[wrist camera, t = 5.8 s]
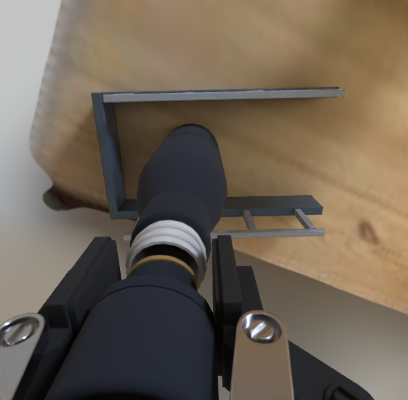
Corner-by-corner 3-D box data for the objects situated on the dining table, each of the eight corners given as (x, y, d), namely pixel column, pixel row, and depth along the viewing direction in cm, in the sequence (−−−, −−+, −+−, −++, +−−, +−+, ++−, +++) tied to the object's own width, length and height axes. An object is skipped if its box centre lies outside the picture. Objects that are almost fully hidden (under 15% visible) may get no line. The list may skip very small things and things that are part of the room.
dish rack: (323, 87, 32) (371, 85, 23) (310, 202, 37) (344, 237, 28) (103, 92, 32) (65, 93, 23) (119, 206, 37) (93, 243, 28)
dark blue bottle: (223, 170, 34) (304, 512, 7) (173, 182, 35) (49, 544, 7) (211, 117, 32) (252, 294, 4) (157, 131, 33) (-112, 367, 5)
